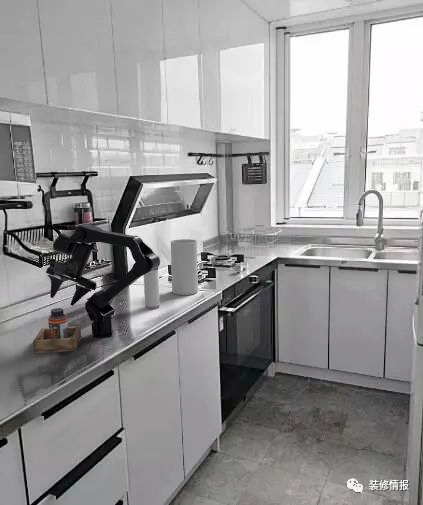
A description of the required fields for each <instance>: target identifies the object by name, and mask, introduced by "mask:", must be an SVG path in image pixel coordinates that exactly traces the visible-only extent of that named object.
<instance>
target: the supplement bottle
mask: <svg viewBox="0 0 423 505" xmlns="http://www.w3.org/2000/svg"><path fill="white" fill-rule="evenodd" d="M47 321H48V322H47V323H48V324H47V325H48V328H49V338H50V339H62V338H68V327H69V326H68V317H67V315H66V314H65V313H64V308H62V307H57V308H52V309H51V310H50V315H49V316H48V319H47Z"/></svg>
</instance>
